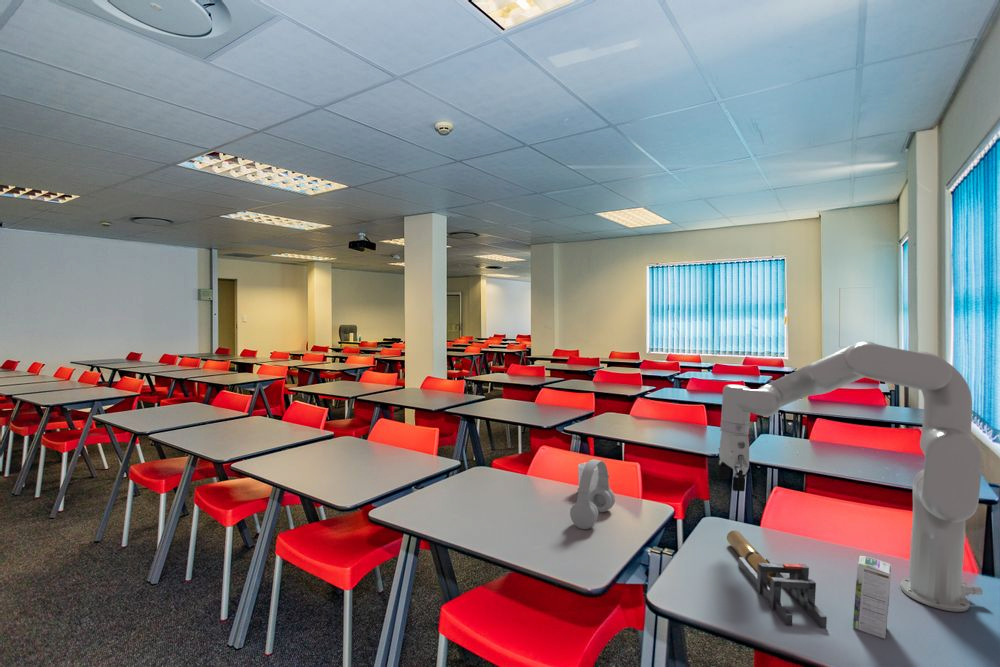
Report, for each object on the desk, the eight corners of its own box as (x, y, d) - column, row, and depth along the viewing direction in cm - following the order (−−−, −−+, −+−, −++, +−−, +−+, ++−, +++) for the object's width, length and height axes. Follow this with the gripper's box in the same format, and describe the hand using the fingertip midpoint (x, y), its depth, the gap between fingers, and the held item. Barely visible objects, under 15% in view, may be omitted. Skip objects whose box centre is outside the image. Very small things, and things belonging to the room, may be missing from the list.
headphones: (593, 533, 149) (595, 471, 148) (568, 526, 153) (570, 466, 152) (615, 511, 166) (617, 455, 165) (592, 505, 170) (593, 451, 169)
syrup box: (854, 616, 110) (857, 553, 109) (887, 627, 106) (891, 562, 106) (852, 628, 106) (856, 563, 105) (887, 640, 102) (891, 573, 101)
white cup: (573, 489, 185) (574, 463, 184) (592, 487, 187) (593, 462, 187) (583, 497, 177) (584, 470, 177) (602, 495, 180) (603, 468, 179)
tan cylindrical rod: (728, 546, 143) (725, 531, 143) (743, 543, 143) (740, 529, 143) (759, 584, 123) (756, 567, 123) (777, 581, 123) (774, 564, 123)
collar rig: (771, 567, 131) (773, 534, 130) (828, 627, 106) (830, 587, 105) (736, 565, 131) (738, 533, 131) (784, 625, 106) (786, 585, 106)
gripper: (762, 435, 133) (758, 496, 134) (734, 420, 150) (731, 474, 152) (734, 434, 134) (730, 495, 135) (710, 419, 151) (706, 473, 152)
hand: (730, 484), depth 143 cm, fingers open, 9 cm apart
